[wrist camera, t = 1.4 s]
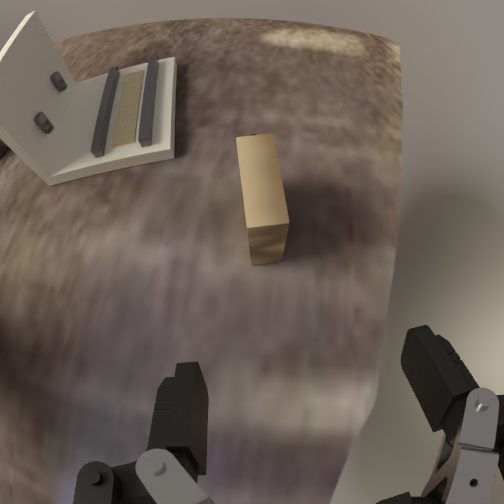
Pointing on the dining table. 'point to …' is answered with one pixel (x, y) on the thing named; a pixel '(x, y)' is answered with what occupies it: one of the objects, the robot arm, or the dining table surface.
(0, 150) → the cupcake
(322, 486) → the dining table surface
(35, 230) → the dining table surface
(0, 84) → the l-shaped angle bracket
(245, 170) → the wooden block
